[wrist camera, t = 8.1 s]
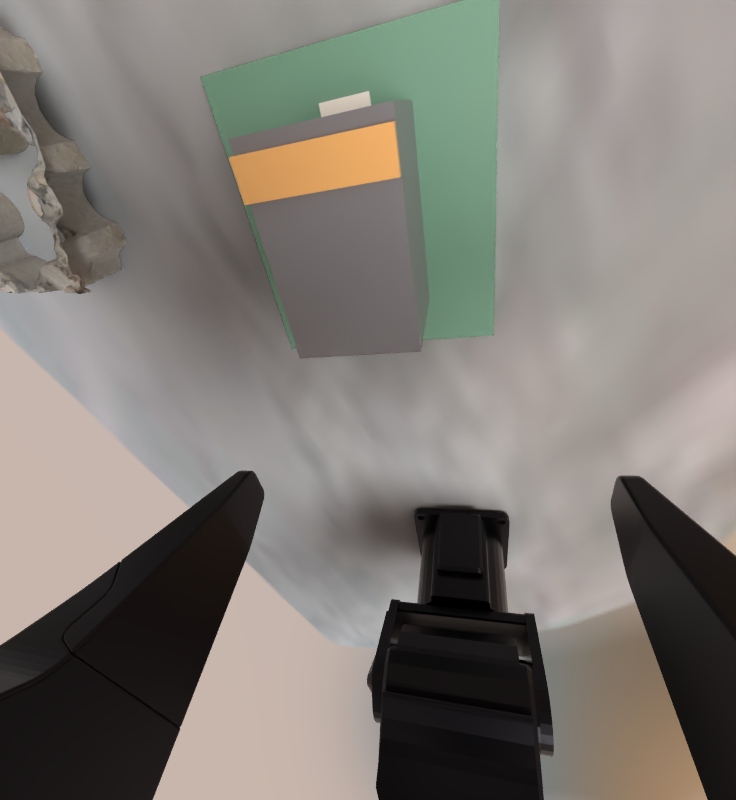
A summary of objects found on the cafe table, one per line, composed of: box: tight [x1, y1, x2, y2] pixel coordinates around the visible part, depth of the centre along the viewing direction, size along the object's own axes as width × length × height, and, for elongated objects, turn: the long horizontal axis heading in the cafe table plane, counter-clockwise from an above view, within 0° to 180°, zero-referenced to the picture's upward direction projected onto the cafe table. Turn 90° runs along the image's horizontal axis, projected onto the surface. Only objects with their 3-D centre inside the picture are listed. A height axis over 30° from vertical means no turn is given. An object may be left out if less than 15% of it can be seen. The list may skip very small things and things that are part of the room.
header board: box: [201, 0, 499, 349], centre depth 15 cm, size 11×10×3 cm
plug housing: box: [228, 101, 430, 358], centre depth 13 cm, size 7×5×5 cm, turn 11°
